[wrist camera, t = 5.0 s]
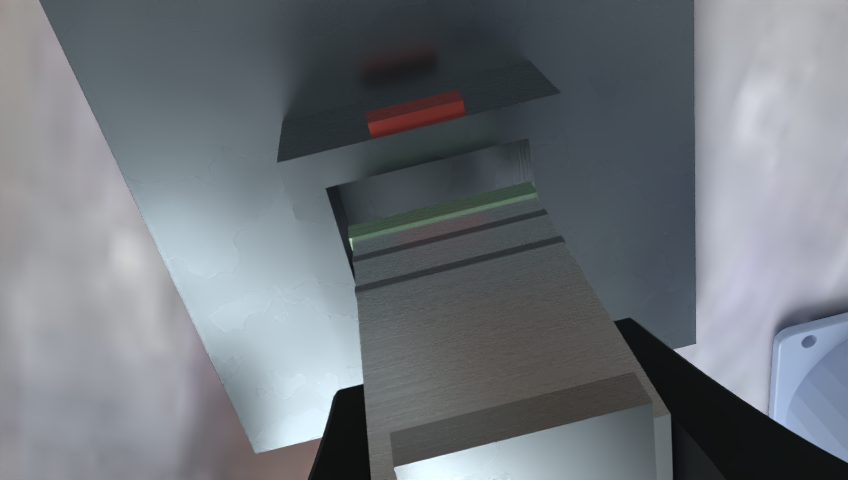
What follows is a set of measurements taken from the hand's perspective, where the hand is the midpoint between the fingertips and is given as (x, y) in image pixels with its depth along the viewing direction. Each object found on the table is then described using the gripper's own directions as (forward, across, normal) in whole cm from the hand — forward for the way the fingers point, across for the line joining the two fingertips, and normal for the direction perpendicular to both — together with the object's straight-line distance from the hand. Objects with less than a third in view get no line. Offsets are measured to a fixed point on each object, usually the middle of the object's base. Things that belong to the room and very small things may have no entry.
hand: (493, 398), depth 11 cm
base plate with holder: (+8, 0, 0) cm, 8 cm away
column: (+5, 0, 0) cm, 5 cm away
